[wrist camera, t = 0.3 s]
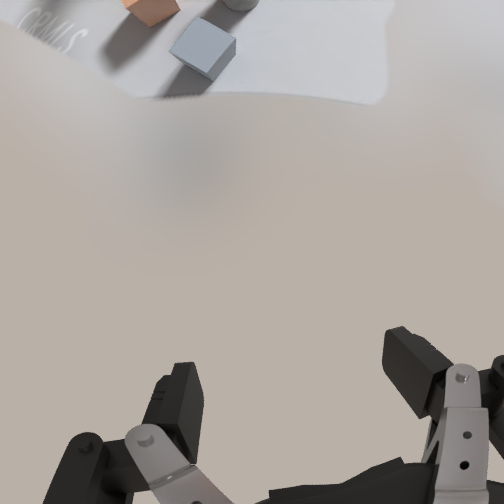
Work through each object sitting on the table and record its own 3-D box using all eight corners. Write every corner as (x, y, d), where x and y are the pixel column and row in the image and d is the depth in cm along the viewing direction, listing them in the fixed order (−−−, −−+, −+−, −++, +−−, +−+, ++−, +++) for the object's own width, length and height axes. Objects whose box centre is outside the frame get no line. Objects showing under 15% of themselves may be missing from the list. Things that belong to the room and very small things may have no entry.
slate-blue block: (184, 64, 28) (168, 51, 20) (206, 37, 27) (197, 16, 19) (213, 81, 30) (206, 73, 22) (235, 54, 28) (235, 37, 20)
